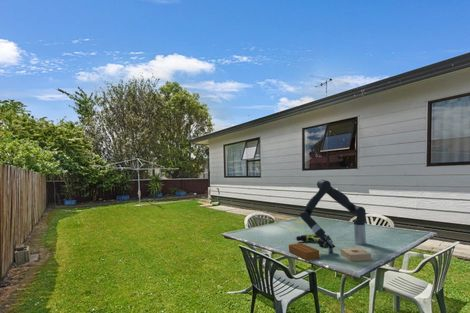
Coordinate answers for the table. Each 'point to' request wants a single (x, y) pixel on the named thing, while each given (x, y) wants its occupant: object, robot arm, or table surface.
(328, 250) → the chuck key
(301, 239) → the cordless drill
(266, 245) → the table surface
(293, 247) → the brick
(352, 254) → the block
